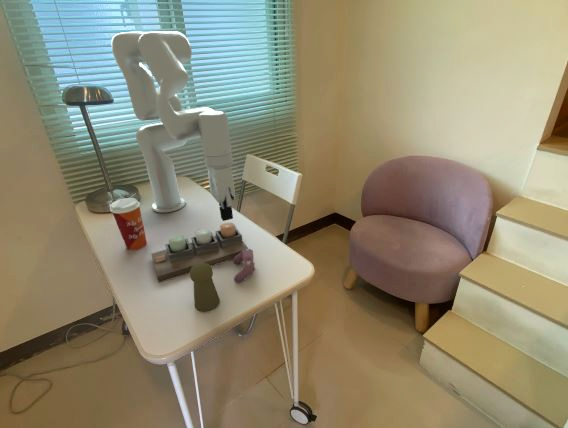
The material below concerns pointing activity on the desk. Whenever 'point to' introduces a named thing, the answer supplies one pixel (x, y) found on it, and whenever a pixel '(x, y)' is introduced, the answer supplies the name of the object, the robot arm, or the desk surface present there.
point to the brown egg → (227, 230)
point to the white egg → (203, 236)
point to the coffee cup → (129, 222)
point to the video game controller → (244, 264)
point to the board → (196, 255)
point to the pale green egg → (177, 244)
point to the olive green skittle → (204, 288)
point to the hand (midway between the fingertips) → (227, 218)
